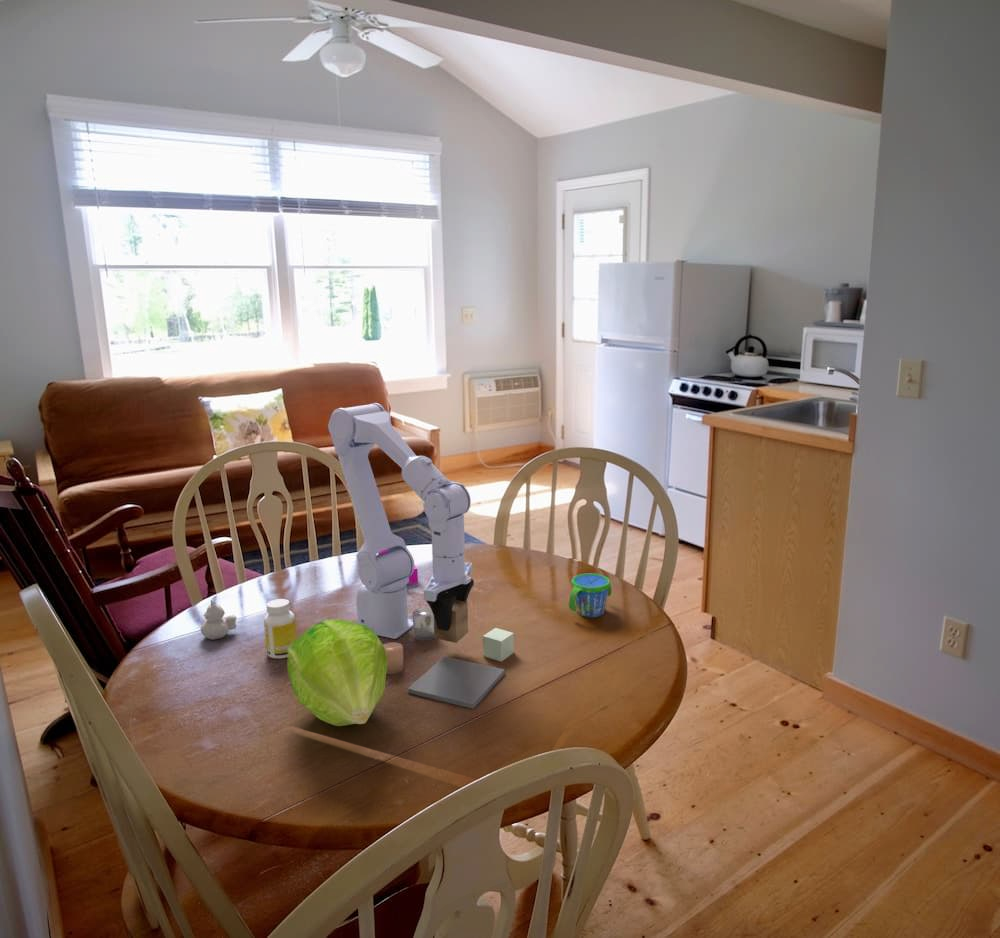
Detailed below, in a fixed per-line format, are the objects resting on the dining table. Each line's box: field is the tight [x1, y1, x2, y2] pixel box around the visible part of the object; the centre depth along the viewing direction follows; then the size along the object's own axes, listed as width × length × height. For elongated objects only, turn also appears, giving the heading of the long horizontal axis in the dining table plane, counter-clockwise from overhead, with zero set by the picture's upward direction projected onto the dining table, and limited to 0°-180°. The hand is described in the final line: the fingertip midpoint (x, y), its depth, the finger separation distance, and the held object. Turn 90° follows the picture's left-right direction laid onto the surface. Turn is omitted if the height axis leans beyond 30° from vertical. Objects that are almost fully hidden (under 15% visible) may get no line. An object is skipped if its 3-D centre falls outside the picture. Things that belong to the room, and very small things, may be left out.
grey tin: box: [412, 607, 435, 642], centre depth 137 cm, size 4×4×5 cm
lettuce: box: [286, 618, 388, 727], centre depth 107 cm, size 15×22×15 cm, turn 20°
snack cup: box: [568, 572, 612, 618], centre depth 146 cm, size 11×8×7 cm
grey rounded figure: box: [200, 599, 237, 641], centre depth 138 cm, size 5×7×8 cm
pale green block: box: [482, 627, 515, 663], centre depth 130 cm, size 4×4×4 cm
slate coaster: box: [407, 656, 506, 710], centre depth 120 cm, size 12×12×1 cm
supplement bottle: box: [263, 598, 298, 660], centre depth 131 cm, size 5×5×10 cm
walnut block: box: [434, 600, 469, 644], centre depth 130 cm, size 4×4×6 cm
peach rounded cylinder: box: [382, 641, 405, 675], centre depth 125 cm, size 4×4×4 cm
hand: (450, 623), depth 130 cm, fingers closed on walnut block, 4 cm apart
